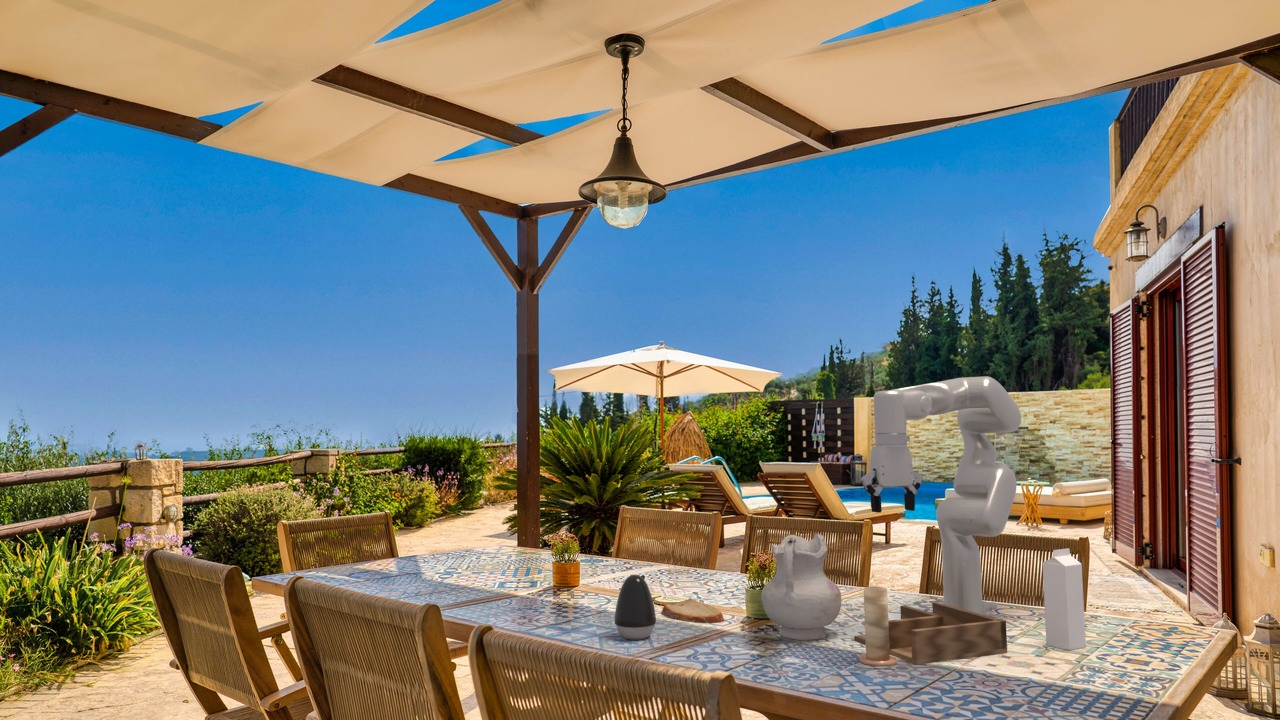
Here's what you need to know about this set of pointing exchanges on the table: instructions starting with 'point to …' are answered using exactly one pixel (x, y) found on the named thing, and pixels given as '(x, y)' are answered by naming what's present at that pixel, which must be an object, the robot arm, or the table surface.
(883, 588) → the beech peg
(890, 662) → the pad
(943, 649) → the channel board
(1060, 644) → the milk
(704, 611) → the bread slice
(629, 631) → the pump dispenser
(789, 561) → the ceramic pitcher
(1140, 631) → the table surface
